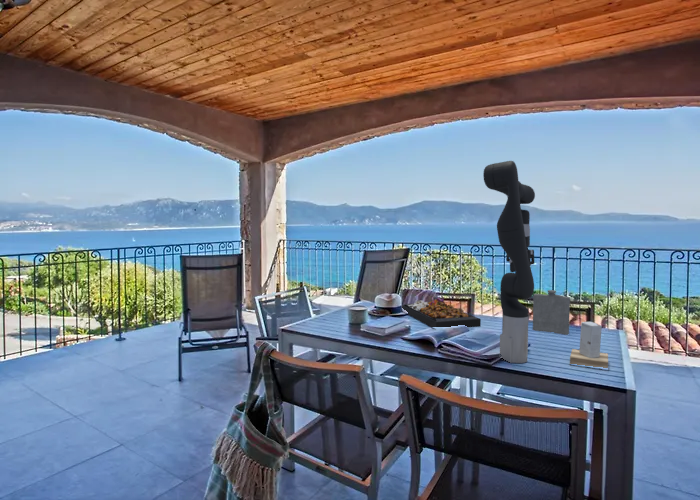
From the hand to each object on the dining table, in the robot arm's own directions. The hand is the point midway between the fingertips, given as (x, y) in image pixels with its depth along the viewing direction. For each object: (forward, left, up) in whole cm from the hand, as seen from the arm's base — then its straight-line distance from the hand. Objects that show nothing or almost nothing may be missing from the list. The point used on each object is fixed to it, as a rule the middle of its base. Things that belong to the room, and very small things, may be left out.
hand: (519, 273), depth 181 cm
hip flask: (+30, +13, -31) cm, 45 cm away
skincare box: (+8, -28, -28) cm, 41 cm away
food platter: (-5, +56, -32) cm, 65 cm away
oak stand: (+8, -28, -31) cm, 43 cm away
